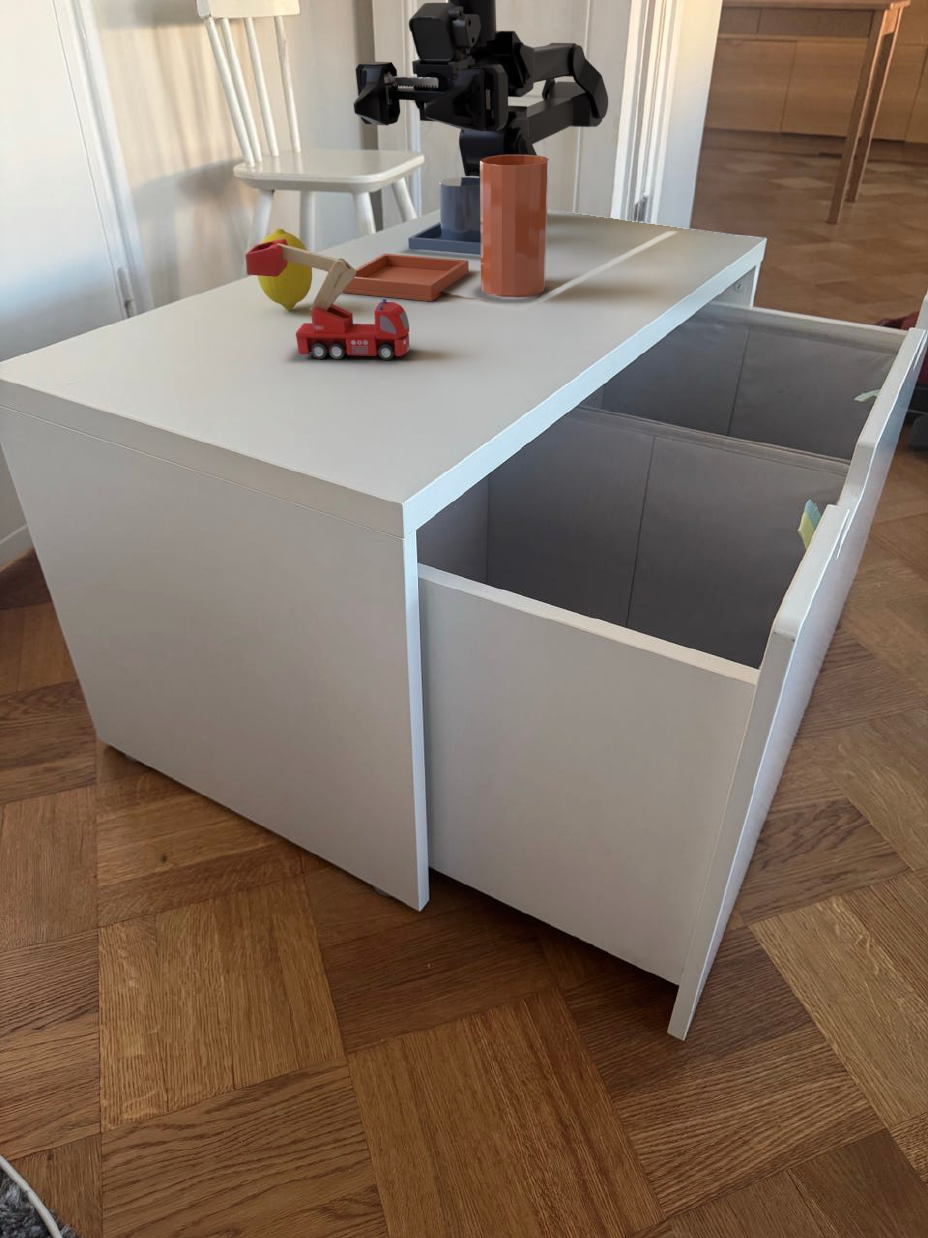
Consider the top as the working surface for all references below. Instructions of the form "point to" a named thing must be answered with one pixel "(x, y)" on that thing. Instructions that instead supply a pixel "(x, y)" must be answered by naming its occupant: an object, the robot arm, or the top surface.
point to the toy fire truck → (334, 307)
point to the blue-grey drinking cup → (460, 209)
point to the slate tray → (441, 242)
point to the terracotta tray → (406, 276)
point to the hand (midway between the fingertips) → (390, 109)
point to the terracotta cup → (513, 224)
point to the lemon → (287, 276)
